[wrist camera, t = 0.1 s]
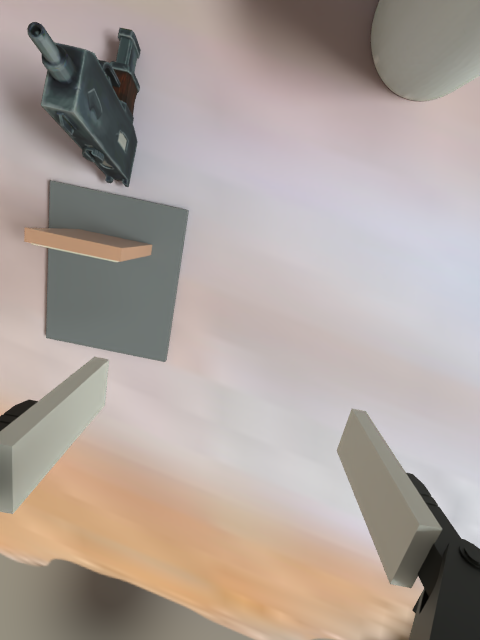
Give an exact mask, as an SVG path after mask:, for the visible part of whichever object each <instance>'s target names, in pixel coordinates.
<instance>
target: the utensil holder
mask: <svg viewBox="0 0 480 640" xmlns="http://www.w3.org/2000/svg"><path fill="white" fill-rule="evenodd" d="M371 49H372V56H373V60H374V64H375V67H376V69H377V72H378V74H379V76H380V77H381V79H382V81H383V82H384V83H385V84H386V85H387V87H388V88H389V89H390V90H391V91H393V92H394V93H395V94H397V95H399V96H401V97H403V98H406V99H409V100H414V101H429V100H434V99H438V98H440V97H443V96H445V95H448V94H450V93H451V92H453V91H455V90H457V89H458V88H460V87H462V86H463V85H465V84H467V83H469V82H470V81H472V80H474V79H475V78H477V77H478V76H480V0H380V1H379V3H378V6H377V9H376V12H375V15H374V18H373V23H372V30H371Z"/></svg>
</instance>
